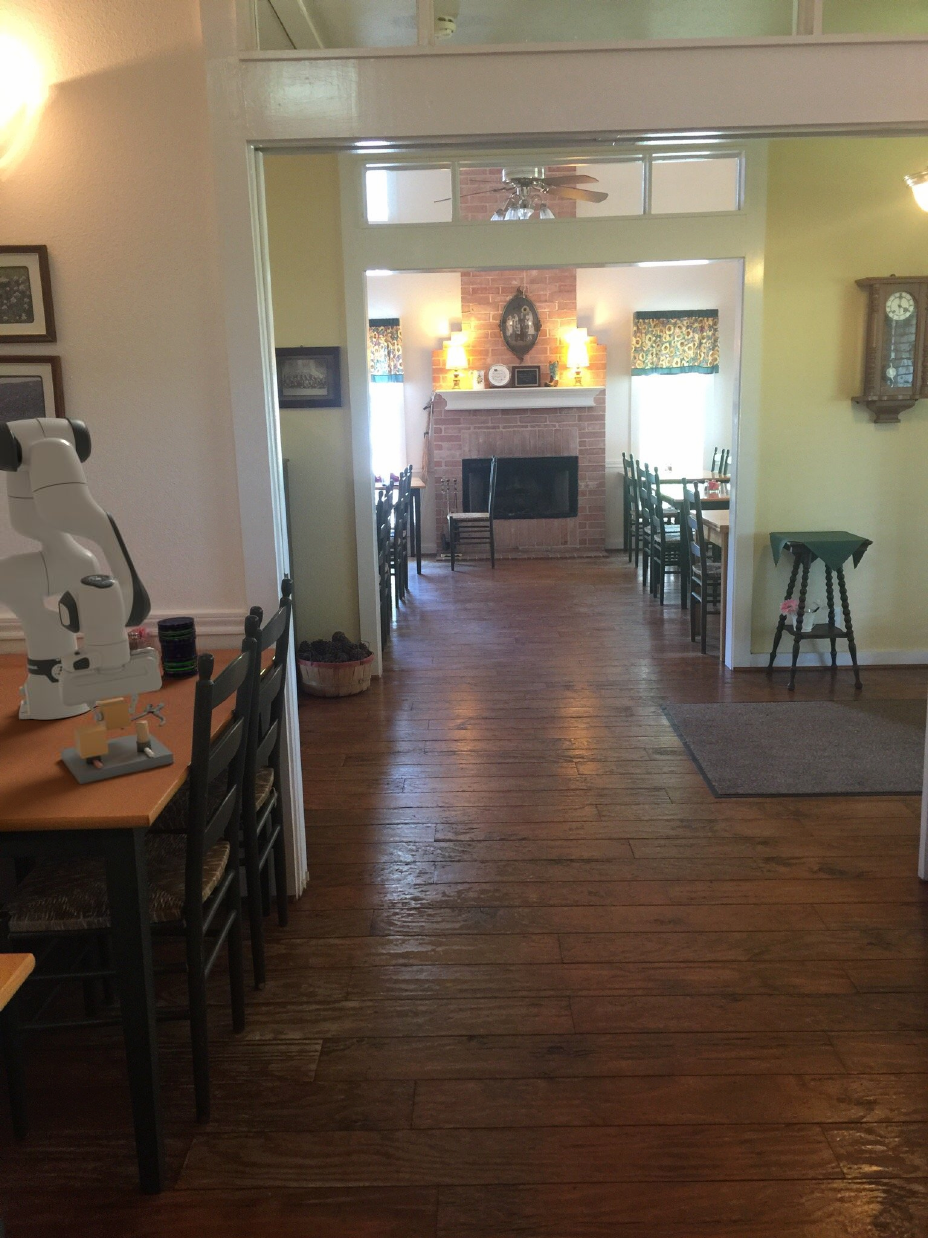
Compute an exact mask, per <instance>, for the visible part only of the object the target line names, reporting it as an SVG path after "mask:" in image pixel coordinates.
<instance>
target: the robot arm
mask: <svg viewBox="0 0 928 1238" xmlns="http://www.w3.org/2000/svg"><path fill="white" fill-rule="evenodd" d="M92 442H93V441H92V437H91V434H90V430H89V428H88V426H87V425H86V424H85V422H83V420H81V419H79V418H74V417H66V416H65V417H63V418H61V417H58V418H57V417H34V418H29V419H19V420H14V421H8V422H6V421H0V471H3V472H6V473H5V475H6V477H5V478H6V479H5V481H6V483H5V484H6V494H7V503H8V512H9V521H10V525H11V527H12V528H13V530H14V531H15V532H16V533H17V534H19V535H21V536H22V537H25V538H27V539H30V540H34V541H37V542H39V543H40V544H41V547H42V548H41V550H38V551H33V552H24V553H23V552H22V553H15V554H14V553H13V554H7V555H4V556H0V604H2V605H3V606H4V607H5V608H7V609H8V610H9V611H11V612H12V613H13V614H14V616H15V617H16V619H17V620H18V621H19V623H20V625H21V627H22V631H23V634H24V640H25V644H26V649H27V650H26V651H27V658H26V666H27V672H28V677H27V678H26V681H25V683H24V684H23V685H22V686H19V694H20V697H24V698H23V699H22V700H21V701H20V706H19V712H18V719H19V720H30V719H31V720H32V719H33V720H56V719H63V718H69V717H73V716H78V715H80V714H84V713H87V712H89V711H91V712H92V713H93V718H94V719H93V720H94V722H95V723H101V722H100V721H103V720H104V719H103V713H102V712H101V711H99V710H98V711H97V710H96V709H95V707H99V706H98V702H100V701H105V700H111V699H116V698H122V697H123V698H124V697H129V698H130V702H129V711H130V716H135V715H136V711H135V708H136V706H137V703H138V701H139V699H140V697H139V694H144V693H148V692H154V691H155V692H156V691H159V690H160V689H161V687H162V685H163V681H162V675H161V672H160V668H159V665H160V661H161V659H160V653H159V652H158V650H156V649H155V648H152V647H149V646H148V647H145V648H136V649H130V643H129V636H128V633H127V630H126V628H134V627H139V626H141V625H142V624H143V622H145V620H146V619H147V617H149V615H150V613H151V610H152V605H151V604H152V603H151V598H150V596H149V593H148V591H147V589H146V587H145V585H144V584H143V582H142V580H141V578H140V576H139V574H138V572H137V570H136V568H135V565H134V563H133V560H132V558H131V556H130V554H129V553H130V552H129V551H128V549H127V546H126V543H125V541H124V538H123V537H122V534H121V531H120V530H119V529H120V528H118V526H117V523H116V521H115V520H114V518H113V516H112V514H111V513H110V511H108V510H106V509H104V508H102V507H101V506H99V504H98V503H97V502H96V501H95V499H94V498H93V495H91V491H90V489H89V486H88V482H87V477H86V474H85V471H84V468H83V465H82V464H83V463H85V462H86V461H87V460H88V459H89V458H90V457H91V455H92V447H93V444H92ZM72 535H73V536H78V537H82V538H85V539H87V540H90V541H92V542H94V543H95V544H97V545H98V546H99V547H100V549H101V550H102V552H103V554H104V556H105V558H106V559H105V560H106V562H107V564H108V566H109V569H110V571H111V573H112V575H111V574H110V575H109V574H101V566H100V563H99V560H98V558H97V557H96V556H95V554H94V553H93V552H91V551H90V550H89V549H87V548H85V547H84V546H82V545H80V544H79V543H78V542H77V540H75V539H74V538H73V537H72ZM54 597H55V598H56V597H60V599H59V600H58V605H57V606H58V611H57V610H53V609H50V608H48V607H46V605H45V602H44V600H45V599H47V598H54ZM77 634H83V638H82V645H83V646H81V647H79V648H78V641H77Z"/></svg>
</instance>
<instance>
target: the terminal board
mask: <svg viewBox="0 0 928 1238" xmlns="http://www.w3.org/2000/svg"><path fill="white" fill-rule="evenodd" d="M148 724H149V723H148V720H145V719H141V720H137V721H135V722H134V725H135V734H134V733H133V734H129V735H125V736H120V737H115V738H110V739H107V731H106V729H105V728H104V727H103V726H102V725H101V722H96V723H91V724H86V725H83V726H77V727H73V735H74V741H75V746H71V747H68V748H67V747H66V748H63V749H60V757H61V760H62V762H63V763H64V764H65V765H66V767H67V768H68V769H69V771H70V772H71V774H72V775H73V776H74V777H75V779H76V780H77V782H78V783H79V784H80V785H83V784H87V783H90V782H91V783H92V782H97V781H100V780H106V779H109V778H114V777H118V775H119V776H122V775H127V774H133V773H135V772H140V771H144V770H148V769H149V770H150V769H153V768H158V767H162V766H163V767H164V766H167V765H170V764H174V755H173V754H174V753H173V752H172V751H171V750H169V749H168V748H167V747H166V746H165V745H164V744H163V743H162V742H160V741H159V740H158V739H157V738H156V737H155V736H154V735H153V734H151V733H150V731H149V725H148ZM105 778H106V779H105Z"/></svg>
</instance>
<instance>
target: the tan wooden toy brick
mask: <svg viewBox="0 0 928 1238" xmlns="http://www.w3.org/2000/svg"><path fill="white" fill-rule="evenodd" d="M129 704H130V702H129V701H127V699H125V698H124V696H123V697H118V698H112V699H107V700H102V701H100V702H98V706H97V707H98V711H101V712H102V713H103V719H104V720H103V721H100V722H99V723H100V724H101V725H102V726H103V727H104V728H105V729H106V732H108V731H112V730H117V729H122V728H123V727H125V728H127V727H131V726H132V721H131V720H130V719H131V715H130V711H129Z"/></svg>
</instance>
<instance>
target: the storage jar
mask: <svg viewBox="0 0 928 1238" xmlns="http://www.w3.org/2000/svg"><path fill="white" fill-rule="evenodd" d="M156 624H157V636H158V642H159V644H160V653H161V656H160V661H161V662H160V663H161V668H162V672H163V673H162V677H163V679H167V680H168V679H169V680H178V679H179V678H181V679H187V677H188V678H191V677H195V676H197V675H199V674H198V671H197V661H198V659H199V652H198V651H197V642H196V641H197V640H196V639H197V633H196V632H197V629H196V626H195V625H196V624H195V618H194V617H190V616H177V617H169V618H168V617H167V618H164V619H160V620H158V621H157V623H156ZM179 680H180V679H179Z"/></svg>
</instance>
